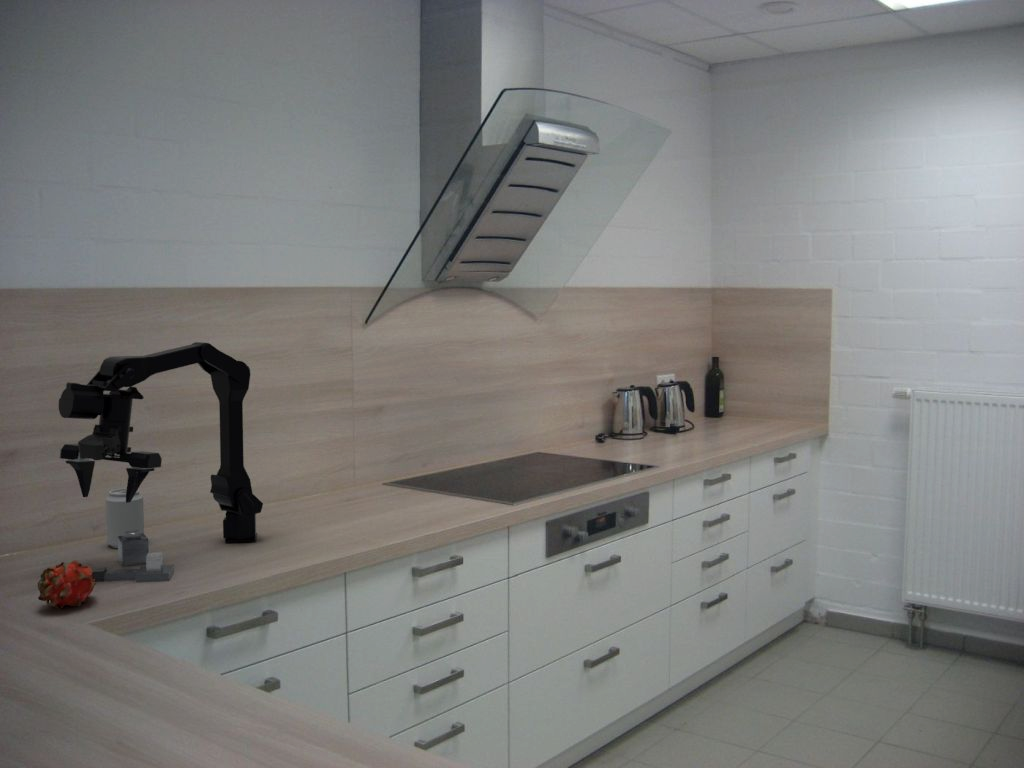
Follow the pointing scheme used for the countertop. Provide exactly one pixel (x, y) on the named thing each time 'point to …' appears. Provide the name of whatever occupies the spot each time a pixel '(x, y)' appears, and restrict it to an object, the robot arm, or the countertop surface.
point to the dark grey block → (132, 548)
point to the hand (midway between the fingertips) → (106, 499)
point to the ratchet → (137, 571)
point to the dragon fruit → (66, 584)
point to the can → (123, 515)
